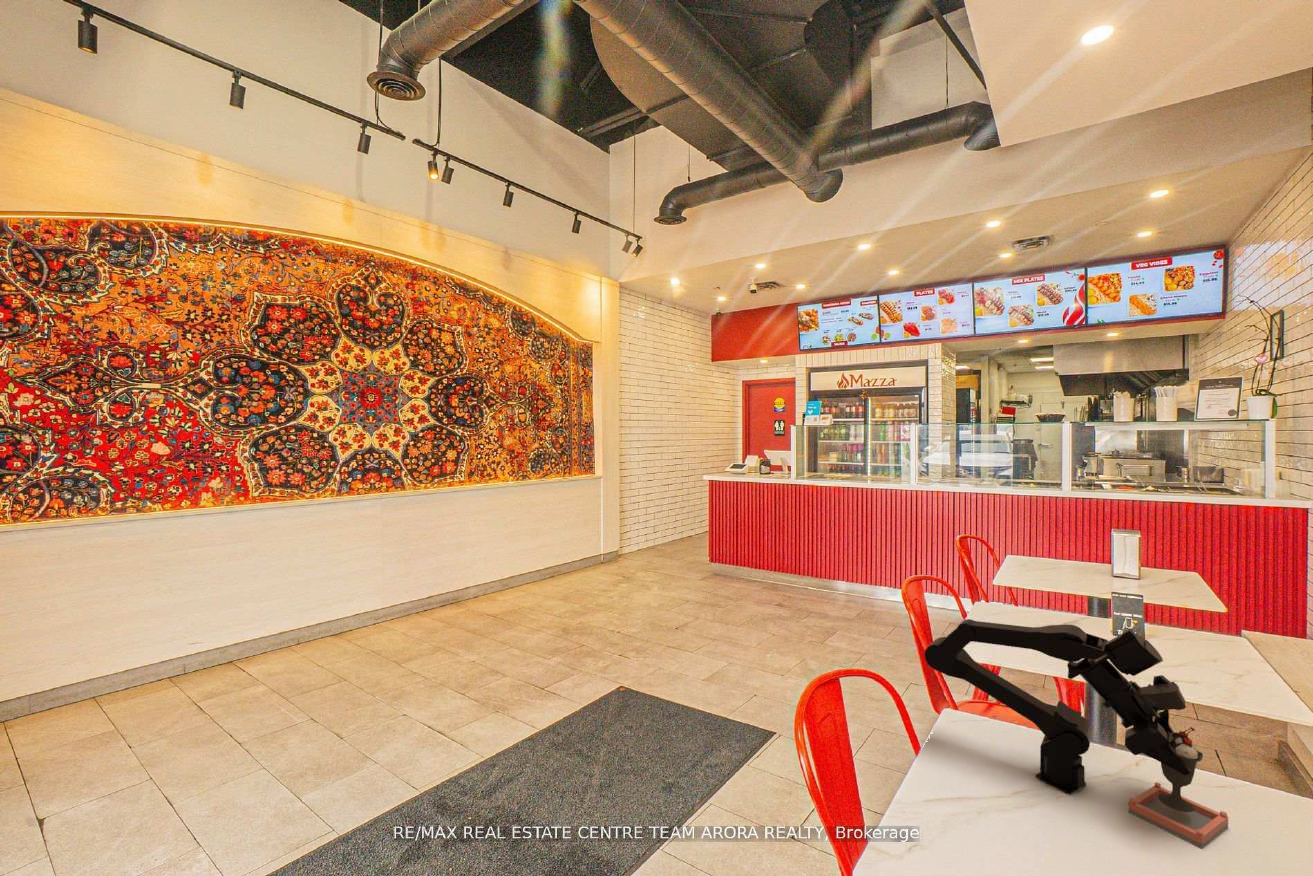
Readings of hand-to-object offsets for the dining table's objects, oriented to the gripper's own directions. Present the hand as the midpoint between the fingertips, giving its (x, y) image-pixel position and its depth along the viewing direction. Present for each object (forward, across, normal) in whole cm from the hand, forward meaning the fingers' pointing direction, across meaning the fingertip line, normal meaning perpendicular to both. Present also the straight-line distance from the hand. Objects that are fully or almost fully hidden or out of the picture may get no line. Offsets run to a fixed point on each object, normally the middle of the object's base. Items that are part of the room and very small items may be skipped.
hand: (1187, 765), depth 106 cm
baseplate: (+7, 0, +8) cm, 11 cm away
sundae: (+5, 0, +6) cm, 8 cm away
